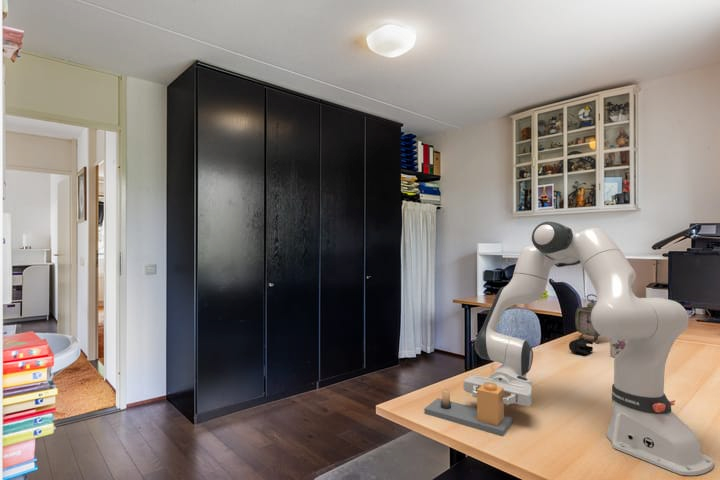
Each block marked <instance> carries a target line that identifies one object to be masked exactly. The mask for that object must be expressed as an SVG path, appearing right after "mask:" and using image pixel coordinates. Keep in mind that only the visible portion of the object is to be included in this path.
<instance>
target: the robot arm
mask: <svg viewBox="0 0 720 480" xmlns="http://www.w3.org/2000/svg"><path fill="white" fill-rule="evenodd" d="M531 242H532V244H533V245H529V246H526V247H524V248H523V249H522V250H521V252H520V253H519V256H518V259H517V261H516V263H515V267H514V271H513V274H512V278H511V279H510V281H509V282H508V284H506V285H505V286H502V287H500V289H499V290H498V292H497V293H496V295H495V297H494V300H493V302H492V304H491V306H490V308H489V311H488V313H487V316H486V318H485V320H484V323H483V325H482V327H481V329H480V330H479V332H478V335H477V336H476V338H475V340H474V347H473V348H474V350H475V352H476V354H477V356H478V357H479V358H480V359H483V360H486V361H487V360H488V361H493V362H497V363H500V366H498V368H497V369H496V370H495V371H494V372H493V373H491V374H490V375H489V377H486V376H481V375H475V374H474V375H469V376H468V377H466V378H465V379H464V380H463V386H462V387H463V390H464V391H465V392H466V393H470V394H472V395H471V396H472V397H473V398H477V389H478V388H479V387H480V386H481V385H482V384H484V383H486V382H491V383H495V384H496V385H497V386H498V387H503V388H504V398H503V404H504V406H509V405H510V404H516V405H520V406H523V407H531V406H532V403H533V383H532V379H529V378H527V374H528V373H529V372H530V370H531V369H532V365H533V360H534V351H533V349H532V346H531V344H530V343H529V342H528V341H527V340H526V339H522V338H518V337H514V336H511V335H508V334H507V335H506V334H504V333H501V332H497V328H498V326H499V324H500V321H501V318H502V317H503V315H504V312H505V311H506V309H508V308H509V307H512V306H516V305H523V304H531V303H535V302H536V301H539V300H540V299H541V298H542V297H543V296H544V295H545V292H546V289H547V285H548V280H549V275H550V272H551V269H552V268H553V266H556V267H557V268H563V267H567V266H570V267H571V266H578V265H580V264H581V266H582V267H583V270H584V271H585V273H586V275H587V276H588V278H589V280H590V282H591V284H592V286H593V288H594V290H595V295H596V296H597V298H596V301H597V302H595V303H596V305H595V306H594V307H593V309H592V312H591V322H592V325H593V327H594V329H595V330H596V331H597V333H598V334H600V335H601V337H603V338H607V339H610V338H611V339H617V340H628V342H627V344H626V346H625V347H624V349H623V350H621V351H620V352H619V353H618V354H617V355H616V357H615V358H614V360H613V384H612V385H611V401H612V408H611V410H612V411H611V417H610V421H609V425H608V428H607V430H606V433H605V434H606V437H607V438H608V439H609V440H610V442H611V447H612V448H613V449H615V450H618V451H620V452H622V453H625V454H627V455H630V456H632V457H635V458H638V459H639V460H643V461H645V462H648V463H650V464H652V465H655V466H656V467H657V466H658V467H660V468H662V469H664V470H668V471H670V472H672V473H675V474H678V475H681V476H698V475H703V474H705V473H708V472H709V471H711V470H712V469H713V468H714V459H713V458H712V457H711V456H709V455H707V454H705V453H703V452H702V446H701V442H700V439H699V436H698V435H697V434H696V432H695V431H693V430H692V429H691V428H690V427H689V426H688V425H686V424H685V422H684V421H682V419H681V418H679V417H678V416H677V415H676V414H675V413H674V412H673V411H672V406H675V405H676V403H675V402H676V400H675V399H674V400H673V399H672V400H669V399H668V397H667V396H666V394H665V392H664V391H665V370H666V363H667V360H668V357H669V354H670V351H671V349H672V348H673V345H674V343H675V342H676V341H677V338H678V337H679V336H680V335H682V333H684V332H685V331H686V330H687V328H688V326H689V321H690V320H689V319H690V318H689V315H688V312H687V310H686V308H684V306H682V304H681V303H680V302H677V301H675V300H672V299H668V298H663V297H656V296H655V297H638V296H636V295H635V294H634V292H633V288H632V285H633V284H634V282H635V281H636V277H637V273H636V271H635V269H634V267H632V265H631V264H630V262H629V261H628V259H627V257H626V256H625V255H624V253H623V252H622V250H621V249H620V247H619V246H618V245H617V244H616V243H615V241H614V239H612V238H611V237H610V236H609V235H608V234H607V233H606V232H605V231H603V230H602V229H600V228H598V227H597V228H595V227H591V228H586V229H584V230H582V231H579V232H574V231H573V230H572V228H570V227H568V226H565V225H563V224H561V223H558V222H555V221H543V222H541V223H539V224H538V225H536V226H535V228H534V229H533V230H532V233H531Z"/></svg>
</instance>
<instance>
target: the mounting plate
mask: <svg viewBox="0 0 720 480" xmlns="http://www.w3.org/2000/svg"><path fill="white" fill-rule="evenodd" d="M450 399H451V391H450V390H449V389H442V390H441V398H440V397H437V398H436V399H434V400H433V401H432V402H431V403H429V404H428V405H427V406H426V407H424V412H423V413H424V414H426V415H430V416H432V417H435V418H440V419H444V420H445V421H449V422H454V423H458V424H460V425H463V426H466V427H470V428H474V429H477V430H481V431H484V432H488V433H491V434H495V435H497V436H502V437H504V435H505V434H506V433H507V431H508V429H509V428H510V426H512V424H513V417H512V416H509V415H506V414H504V419H503V420H502V421H501V422H500V424H499V425H498V426H497V425H493V424H490V423H486V422H482V421H478V420H477V407H476V406H470V405H466V404H464V403H463V404H462V403H460V402H459V403H458V402H455V401H451V400H450Z"/></svg>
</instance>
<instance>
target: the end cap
mask: <svg viewBox="0 0 720 480" xmlns="http://www.w3.org/2000/svg"><path fill="white" fill-rule="evenodd" d="M593 344H594V340H592V339H587V338H585V337H583V336H582V338H579V337H578V338H577V339H574V340H571V341H570V342H569V344H568V348H569V351H570V352H571V353H573V354H574V355H576V356H580V357H588V356H589V355H592V354H593V352H594V351H593V350H594V346H589V345H593Z"/></svg>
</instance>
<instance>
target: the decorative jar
mask: <svg viewBox="0 0 720 480" xmlns="http://www.w3.org/2000/svg"><path fill="white" fill-rule="evenodd" d="M609 340H610V343H609V346H610V347H609V349H610V350H609V354H610V357H611V358H614V359H615V357H616V355H617V354H618V353H619V352H620V351H621V350H623V349H624V347H625V346H626V344H627V342H628V340H617V339H611V338H609Z"/></svg>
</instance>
